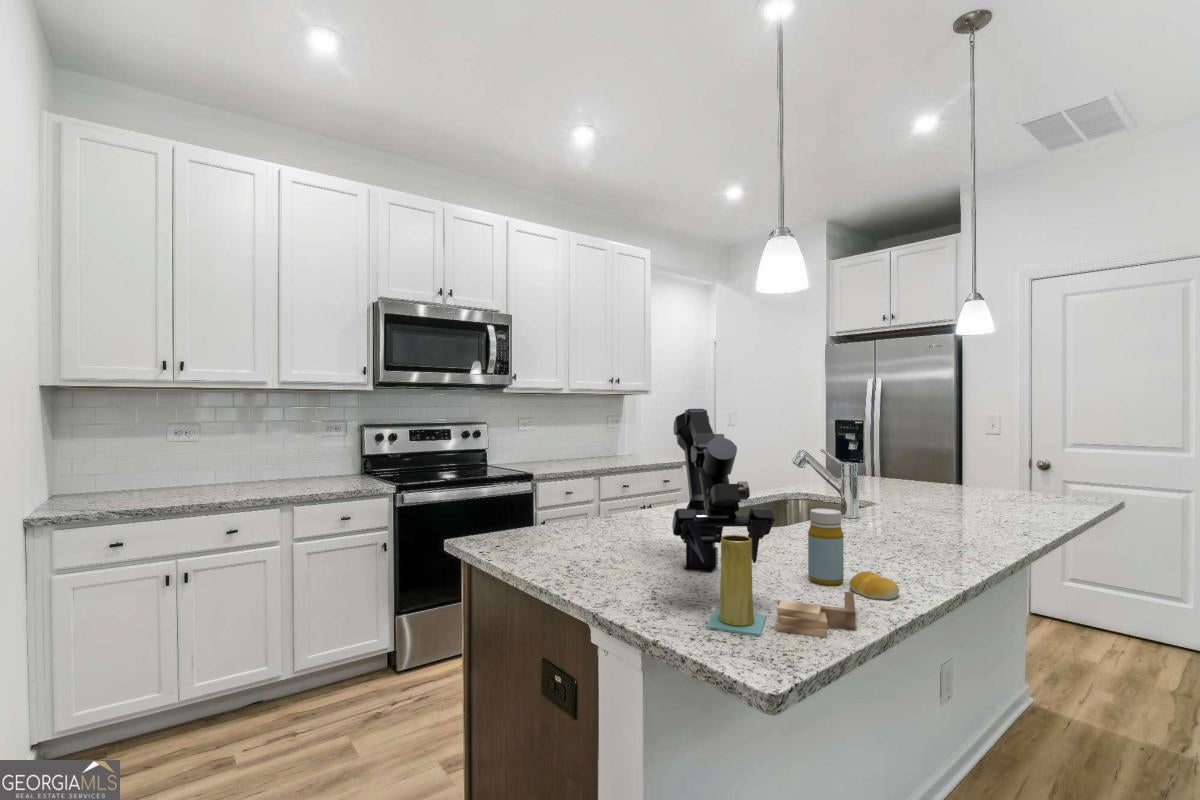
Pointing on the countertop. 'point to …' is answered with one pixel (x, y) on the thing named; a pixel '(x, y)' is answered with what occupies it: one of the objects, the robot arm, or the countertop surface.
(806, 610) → the offcut rack
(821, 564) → the bottle
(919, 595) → the countertop surface
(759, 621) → the mat
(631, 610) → the countertop surface
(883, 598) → the bread roll
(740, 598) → the vase
